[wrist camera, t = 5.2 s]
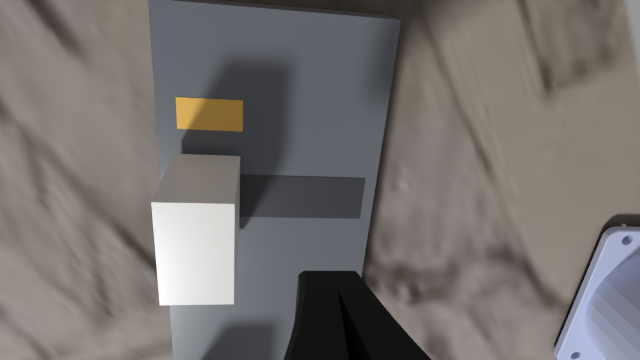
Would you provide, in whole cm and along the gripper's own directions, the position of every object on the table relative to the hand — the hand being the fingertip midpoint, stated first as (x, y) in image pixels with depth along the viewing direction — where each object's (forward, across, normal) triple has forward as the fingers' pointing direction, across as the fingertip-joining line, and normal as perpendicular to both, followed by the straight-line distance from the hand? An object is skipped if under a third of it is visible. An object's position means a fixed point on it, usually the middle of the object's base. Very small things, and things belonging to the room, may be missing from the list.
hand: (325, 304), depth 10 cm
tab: (+5, +3, 0) cm, 6 cm away
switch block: (+7, +1, +5) cm, 9 cm away
